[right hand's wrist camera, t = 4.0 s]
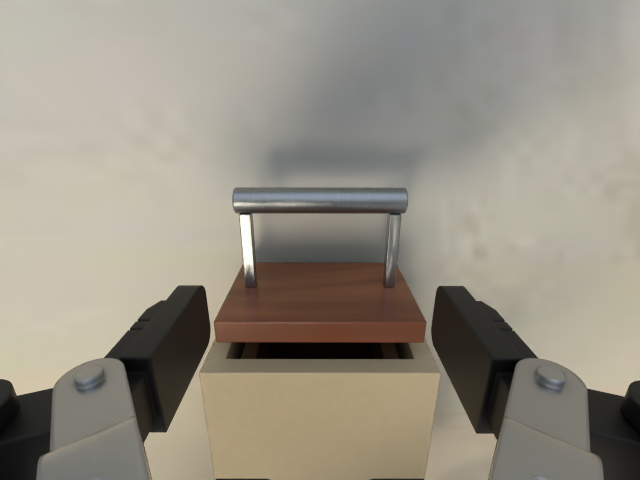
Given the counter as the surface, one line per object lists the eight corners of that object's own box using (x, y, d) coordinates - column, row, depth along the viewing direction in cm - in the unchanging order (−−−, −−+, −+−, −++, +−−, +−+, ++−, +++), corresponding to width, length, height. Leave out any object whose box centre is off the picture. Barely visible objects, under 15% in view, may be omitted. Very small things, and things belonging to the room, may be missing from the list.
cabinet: (240, 283, 24) (198, 372, 16) (399, 283, 24) (441, 373, 16) (254, 449, 30) (229, 579, 21) (384, 449, 30) (409, 579, 21)
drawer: (236, 177, 20) (198, 206, 14) (403, 177, 20) (442, 206, 14) (257, 430, 28) (238, 526, 21) (381, 430, 28) (400, 526, 21)
